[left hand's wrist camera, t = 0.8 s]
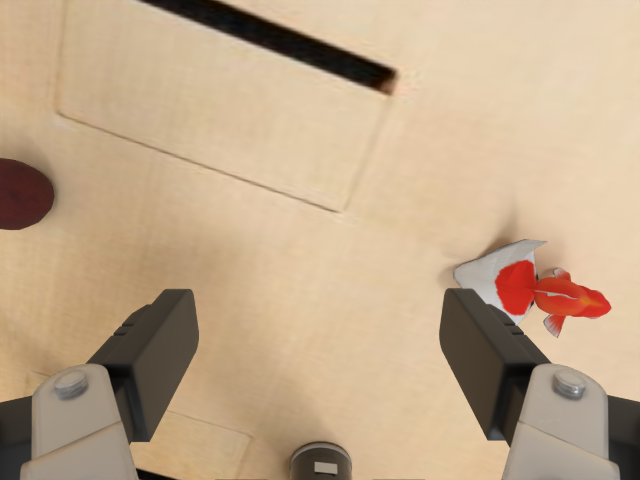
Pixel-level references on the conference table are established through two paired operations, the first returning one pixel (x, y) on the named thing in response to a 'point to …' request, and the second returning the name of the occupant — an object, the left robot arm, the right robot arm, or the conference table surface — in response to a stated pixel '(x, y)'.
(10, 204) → the potato
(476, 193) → the conference table surface
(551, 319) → the fish
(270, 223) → the conference table surface
